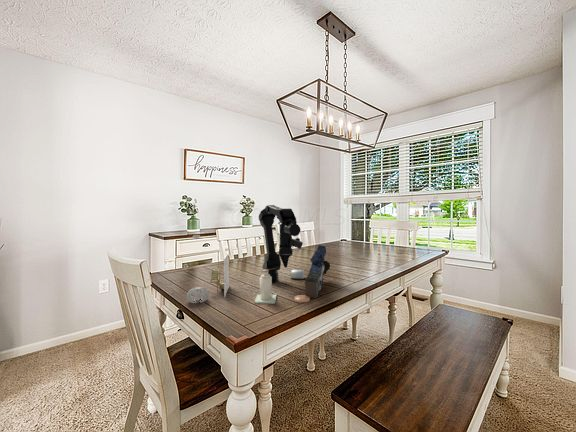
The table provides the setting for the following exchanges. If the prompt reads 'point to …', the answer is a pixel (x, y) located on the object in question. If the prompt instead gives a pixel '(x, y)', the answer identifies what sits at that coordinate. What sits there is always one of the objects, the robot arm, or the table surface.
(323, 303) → the table surface
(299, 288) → the table surface
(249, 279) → the table surface
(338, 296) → the table surface
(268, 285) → the stoneware bottle
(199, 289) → the pendant light
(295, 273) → the white rounded cylinder
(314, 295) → the toy
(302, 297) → the tan disc
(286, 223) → the robot arm
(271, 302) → the pad
